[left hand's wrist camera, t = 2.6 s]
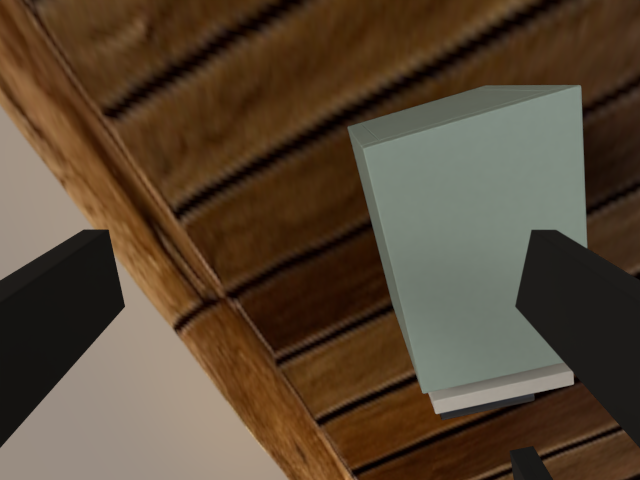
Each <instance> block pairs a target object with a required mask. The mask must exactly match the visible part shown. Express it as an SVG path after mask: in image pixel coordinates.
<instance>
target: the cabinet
mask: <svg viewBox="0 0 640 480" xmlns="http://www.w3.org/2000/svg"><path fill="white" fill-rule="evenodd" d="M348 131H349V135H350V139H351V143H352V147H353V151H354V155H355V158H356V162H357V166H358V170H359V174H360V178H361V182H362V186H363V190H364V194H365V198H366V202H367V206H368V210H369V214H370V218H371V221H372V225H373V229H374V233H375V237H376V241H377V245H378V249H379V253H380V257H381V261H382V265H383V269H384V273H385V277H386V280H387V284H388V288H389V292H390V296H391V300H392V304H393V307H394V310H395V313H396V316H397V319H398V322H399V325H400V328H401V331H402V334H403V337H404V340H405V343H406V346H407V349H408V351H409V354H410V357H411V360H412V363H413V366H414V369H415V372H416V375H417V378H418V381H419V384H420V387H421V390H422V393H429V392H433V391H438V390H442V389H447V388H451V387H456V386H460V385H465V384H469V383H474V382H478V381H483V380H487V379H492V378H496V377H501V376H505V375H510V374H514V373H519V372H523V371H528V370H532V369H537V368H541V367H546V366H550V365H555V364H559V363H564V361H563V360H562V359H561V358H560V357H559V356H558V355H557V354H556V352H555V351H554V350H553V349H552V348H551V347H550V346H549V345H548V343H547V342H546V341H545V340H544V339H543V338H542V337H541V335H540V334H539V333H538V332H537V331H536V330H535V329H534V328H533V326H532V325H531V324H530V323H529V322H528V321H527V320H526V318H525V317H524V316H523V315H522V314H521V313H520V312H519V311H518V309H517V308H516V307H515V304H516V300H517V295H518V290H519V286H520V281H521V276H522V272H523V267H524V262H525V258H526V253H527V248H528V244H529V239H530V234H531V230H558V231H559V232H561V233H563V234H564V235H566V236H567V237H569V238H571V239H572V240H574V241H576V242H577V243H579V244H581V245H582V246H584V247H586V248H587V228H586V202H585V176H584V150H583V124H582V98H581V86H580V85H507V86H483V87H479V88H476V89H473V90H469V91H466V92H463V93H459V94H456V95H452V96H449V97H446V98H442V99H439V100H436V101H432V102H429V103H426V104H422V105H419V106H416V107H412V108H409V109H406V110H402V111H399V112H396V113H392V114H389V115H385V116H382V117H379V118H375V119H372V120H369V121H365V122H362V123H359V124H355V125H352V126H349V127H348Z"/></svg>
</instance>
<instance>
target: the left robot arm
mask: <svg viewBox="0 0 640 480" xmlns="http://www.w3.org/2000/svg"><path fill="white" fill-rule="evenodd" d="M124 307H125V304H124V300H123V295H122V290H121V286H120V281H119V276H118V272H117V267H116V262H115V258H114V253H113V248H112V244H111V239H110V234H109V230H82V231H81V232H79V233H77V234H76V235H74V236H73V237H71V238H69V239H68V240H66V241H64V242H63V243H61V244H59V245H58V246H56V247H55V248H53V249H51V250H50V251H48V252H46V253H45V254H43V255H41V256H40V257H38V258H36V259H35V260H33V261H32V262H30V263H28V264H27V265H25V266H23V267H22V268H20V269H18V270H17V271H15V272H13V273H12V274H10V275H8V276H7V277H5V278H4V279H2V280H0V447H1V446H2V445H3V444H4V443H5V442H6V441H7V440H8V438H9V437H10V436H11V435H12V434H13V433H14V432H15V431H16V429H17V428H18V427H19V426H20V425H21V424H22V423H23V421H24V420H25V419H26V418H27V417H28V416H29V415H30V413H31V412H32V411H33V410H34V409H35V408H36V407H37V406H38V404H39V403H40V402H41V401H42V400H43V399H44V398H45V397H46V395H47V394H48V393H49V392H50V391H51V390H52V389H53V388H54V386H55V385H56V384H57V383H58V382H59V381H60V380H61V378H62V377H63V376H64V375H65V374H66V373H67V372H68V371H69V369H70V368H71V367H72V366H73V365H74V364H75V363H76V361H77V360H78V359H79V358H80V357H81V356H82V355H83V353H84V352H85V351H86V350H87V349H88V348H89V347H90V346H91V344H92V343H93V342H94V341H95V340H96V339H97V338H98V337H99V335H100V334H101V333H102V332H103V331H104V330H105V329H106V328H107V326H108V325H109V324H110V323H111V322H112V321H113V320H114V318H115V317H116V316H117V315H118V314H119V313H120V312H121V311H122V309H123V308H124ZM515 307H516V308H517V309H518V311H519V312H520V313H521V314H522V315H523V316H524V317H525V318H526V320H527V321H528V322H529V323H530V324H531V325H532V326H533V328H534V329H535V330H536V331H537V332H538V333H539V334H540V335H541V337H542V338H543V339H544V340H545V341H546V342H547V343H548V345H549V346H550V347H551V348H552V349H553V350H554V351H555V352H556V354H557V355H558V356H559V357H560V358H561V359H562V360H563V361H564V363H565V364H566V365H567V366H568V367H569V368H570V369H571V371H572V372H573V373H574V374H575V375H576V376H577V377H578V378H579V380H580V381H581V382H582V383H583V384H584V385H585V386H586V388H587V389H588V390H589V391H590V392H591V393H592V394H593V395H594V397H595V398H596V399H597V400H598V401H599V402H600V403H601V404H602V406H603V407H604V408H605V409H606V410H607V411H608V412H609V414H610V415H611V416H612V417H613V418H614V419H615V420H616V421H617V423H618V424H619V425H620V426H621V427H622V428H623V429H624V431H625V432H626V433H627V434H628V435H629V436H630V437H631V438H632V440H633V441H634V442H635V443H636V444H637V445H638V446H639V448H640V280H638V279H636V278H635V277H633V276H632V275H630V274H628V273H627V272H625V271H623V270H622V269H620V268H618V267H617V266H615V265H613V264H612V263H610V262H609V261H607V260H605V259H604V258H602V257H600V256H599V255H597V254H595V253H594V252H592V251H590V250H589V249H587V248H586V247H584V246H582V245H581V244H579V243H577V242H576V241H574V240H572V239H571V238H569V237H567V236H566V235H564V234H563V233H561V232H559V231H558V230H531V234H530V239H529V244H528V248H527V253H526V258H525V262H524V267H523V272H522V276H521V281H520V286H519V290H518V295H517V300H516V304H515Z"/></svg>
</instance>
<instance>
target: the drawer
mask: <svg viewBox="0 0 640 480" xmlns="http://www.w3.org/2000/svg"><path fill="white" fill-rule="evenodd" d="M573 384H574V377H573V372H572V371H571V369H570V368H569V367H568V366H567V365H566V364H565V363H559V364H555V365H550V366H546V367H541V368H537V369H532V370H528V371H523V372H519V373H514V374H510V375H505V376H501V377H496V378H492V379H487V380H483V381H478V382H474V383H469V384H465V385H460V386H456V387H451V388H447V389H442V390H438V391H433V392H429V396H430V399H431V402H432V405H433V407H434V410H435V413H436V414H440V417H441V419H442V420H446V419H450V418H455V417H460V416H464V415H469V414H474V413H478V412H483V411H488V410H492V409H497V408H502V407H506V406H511V405H516V404H520V403H525V402H530V401H534V394H533V393H536V392H541V391H546V390H550V389H555V388H559V387H564V386H569V385H573Z"/></svg>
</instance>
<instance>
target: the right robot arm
mask: <svg viewBox="0 0 640 480" xmlns="http://www.w3.org/2000/svg"><path fill="white" fill-rule="evenodd" d="M510 456H511V463H512V470H513V476H514V480H553V479H552V477H551V475H550V474H549V472H548V470H547V469H546V467H545V465H544V464H543V462H542V460H541V459H540V457H539V455H538V454H537V452H536V450H535V449H534V447H533V446H531V447H527V448H522V449H517V450H512V451H510Z"/></svg>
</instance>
